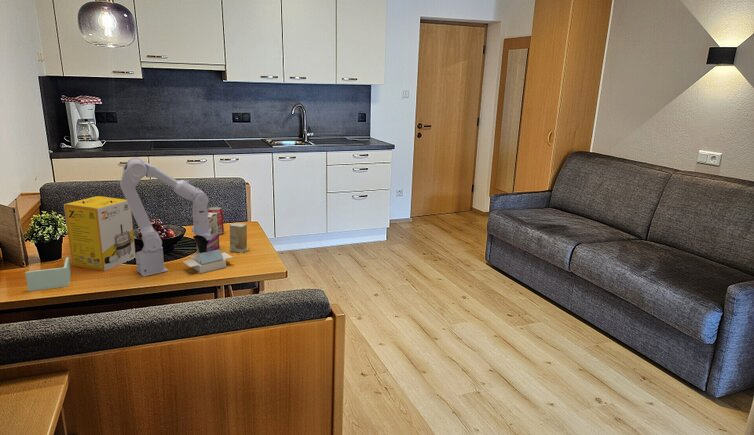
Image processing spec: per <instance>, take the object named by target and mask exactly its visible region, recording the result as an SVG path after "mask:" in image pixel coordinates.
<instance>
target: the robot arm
mask: <svg viewBox="0 0 754 435" xmlns="http://www.w3.org/2000/svg"><path fill="white" fill-rule="evenodd" d="M145 177H146V178H147V179H149V178H150V179H151V178H155V179H157V180H158V181H161V182H162V183H164V184H166V185H168V186H170V187H171V188H172V190H173V192H174V194H177V195H179V196H180V197H181V198H184V199H186V200H187V201H190V202H192V221H193V226H192V227H191V232H192V233H193V234H194V235H193V236H192V238H193V239H194V241H195V243H197V244H196V247H197V246H198V249H199V252H200V253H204V252H206V249H207V244H208V242H209V240H212V235H211V234H210V232H211V231H212V230H211V229H209V224H208V205H209V202H210V199H209V197H208V195H207V194H206V193H205V192H204V191H203V190H202V189H201V188H199V187H196V186H194V185H192V184H190V182H189V181H188V180H187V179H185V180H184V179H178V180H177V179H176V178H174V177H173V176H171V175H169V174H168V173H166V172H164V171H163V170H161V169H160V168H158V167H157V166H155V165H153V164H152V163H149V162H147V161H143V160H142V159H141V158H139V157H132V158H130V159H128V160H127V161H126V163H125V164H124V166H123V170H122V175H121V178H120V181H119V182H120V183H119V185H120V186H119V187H120V189H121V192H122V193H123V196H124V199H126V200H127V202H128V204H129V207H130V209H131V213H132V216H133V217H134V218H133V219H135V221H136V224H137V226H138V229H139V230H140V232H141V241H142V242H143V247H142V248H141V250H139V251H137V252H135V254H136V258H135V262H136V272H138V273H139V274H140V275H141V276H142V277H147V276H148V277H149V276H151V275H156V274H161V273H166V272H169V269H167V268H166V267H165V261H164V259H165V258H164V249H163V248H164V247H163V246H162V245H163V240H162V239H161V237H160V234H159V233H158V231H157V230H155V228H154V227H153V225H152V222H151V221H150V217H149V215H148V213H147V211H146V209H145V206H144V205H143V203H142V200H141V197H140V195H139V193H138V190H137V189H136V187H137V185H138V183H139V182H140V181H141V180H142V179H143V178H145Z"/></svg>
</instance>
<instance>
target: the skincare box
mask: <svg viewBox="0 0 754 435" xmlns="http://www.w3.org/2000/svg"><path fill="white" fill-rule="evenodd" d="M247 226H248V225H247V224H245V223H241V222H233V223H232V224H229V251H230V252H234V253H241V254H242V253H245V252H246V251H248V244H247V242H248V237H247V236H248V231H247V230H248V229H247V228H248V227H247Z"/></svg>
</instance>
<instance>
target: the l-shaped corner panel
mask: <svg viewBox="0 0 754 435" xmlns="http://www.w3.org/2000/svg"><path fill="white" fill-rule="evenodd" d="M24 273H25V280H26V285H27V292H34V291H42V290H43V291H44V290H49V289H56V288H57V289H58V288H64V287H65V288H66V287H69V286H70V282H71V277H72V272H71V263H70V257H69V256H67V257H65V260H64V265H63V266H62V267H56V268H55V267H54V268H46V269H36V270H29V271H25V272H24Z"/></svg>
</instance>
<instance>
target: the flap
mask: <svg viewBox="0 0 754 435" xmlns="http://www.w3.org/2000/svg"><path fill="white" fill-rule="evenodd" d="M221 253H222V252H221V250H220V248H218V249H217V250H214V251H209V252H204V253H199V254H198V257H199V259H200V262H201V264H205V263H210V262H214V261H219V260H223V256H222V254H221Z"/></svg>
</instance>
